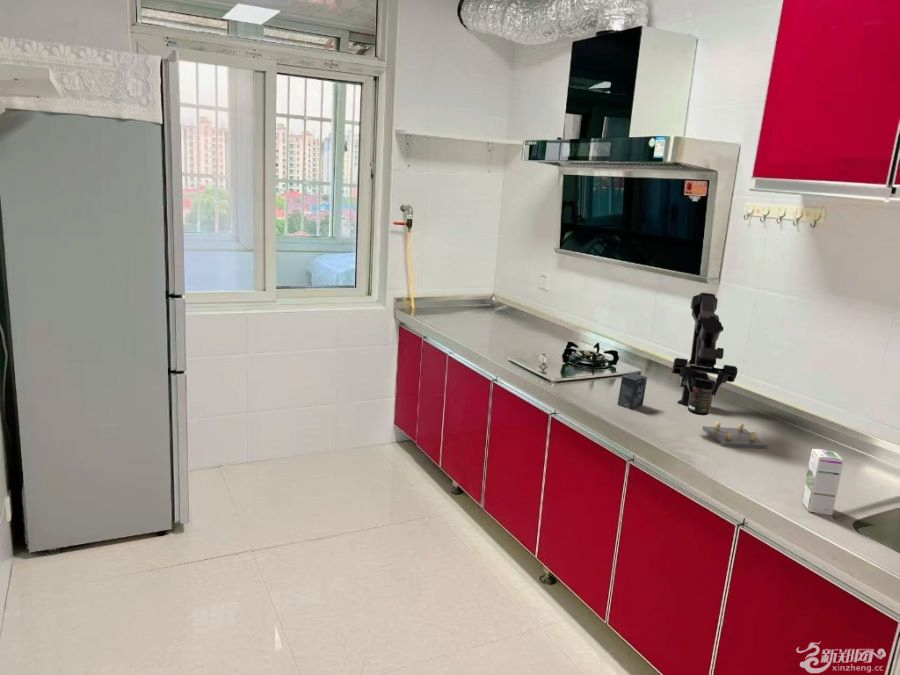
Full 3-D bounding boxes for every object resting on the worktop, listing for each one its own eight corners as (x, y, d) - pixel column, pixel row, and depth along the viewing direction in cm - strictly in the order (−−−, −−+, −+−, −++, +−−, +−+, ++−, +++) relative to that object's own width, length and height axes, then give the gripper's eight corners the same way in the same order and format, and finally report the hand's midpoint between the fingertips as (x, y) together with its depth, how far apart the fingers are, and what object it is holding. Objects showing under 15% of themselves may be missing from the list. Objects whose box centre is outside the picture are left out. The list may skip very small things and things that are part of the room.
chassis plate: (702, 429, 221) (704, 418, 220) (744, 431, 222) (746, 421, 221) (722, 446, 207) (724, 435, 206) (767, 448, 208) (769, 437, 208)
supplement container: (714, 414, 215) (720, 382, 212) (700, 417, 211) (706, 384, 208) (696, 407, 220) (702, 376, 218) (682, 409, 216) (687, 378, 214)
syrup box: (832, 516, 166) (846, 459, 163) (806, 512, 167) (819, 456, 164) (824, 505, 172) (837, 451, 169) (799, 501, 173) (811, 447, 169)
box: (631, 409, 234) (636, 379, 232) (617, 404, 238) (621, 375, 236) (643, 405, 240) (647, 376, 237) (628, 401, 244) (633, 372, 241)
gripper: (678, 332, 216) (674, 375, 208) (742, 341, 211) (740, 385, 204) (674, 351, 225) (669, 393, 217) (734, 360, 221) (732, 403, 213)
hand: (702, 393), depth 213 cm, fingers closed on supplement container, 7 cm apart
